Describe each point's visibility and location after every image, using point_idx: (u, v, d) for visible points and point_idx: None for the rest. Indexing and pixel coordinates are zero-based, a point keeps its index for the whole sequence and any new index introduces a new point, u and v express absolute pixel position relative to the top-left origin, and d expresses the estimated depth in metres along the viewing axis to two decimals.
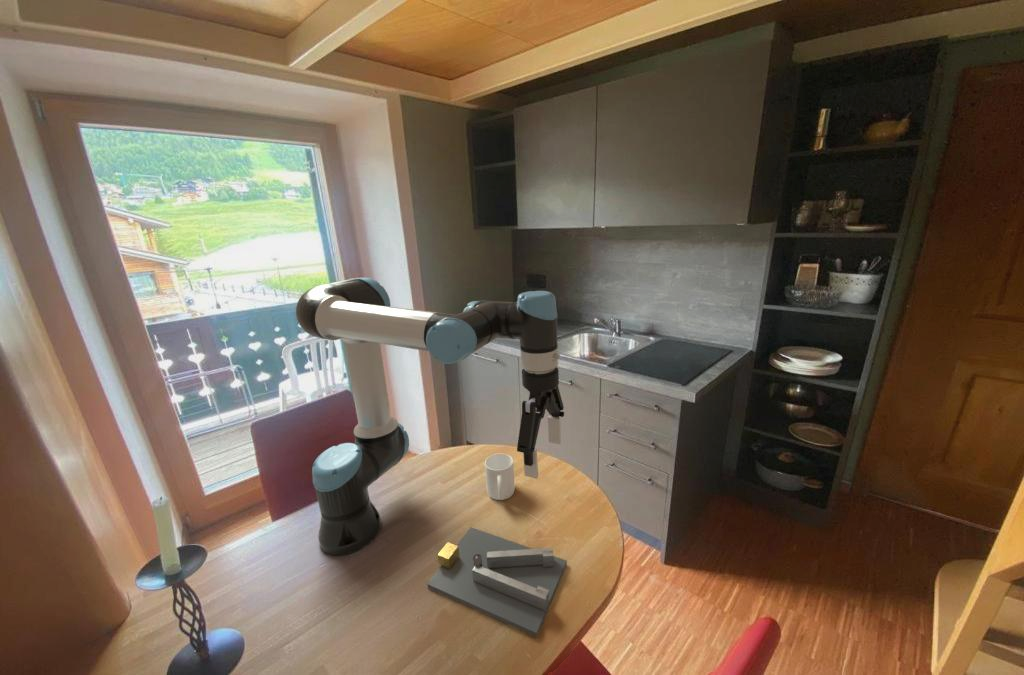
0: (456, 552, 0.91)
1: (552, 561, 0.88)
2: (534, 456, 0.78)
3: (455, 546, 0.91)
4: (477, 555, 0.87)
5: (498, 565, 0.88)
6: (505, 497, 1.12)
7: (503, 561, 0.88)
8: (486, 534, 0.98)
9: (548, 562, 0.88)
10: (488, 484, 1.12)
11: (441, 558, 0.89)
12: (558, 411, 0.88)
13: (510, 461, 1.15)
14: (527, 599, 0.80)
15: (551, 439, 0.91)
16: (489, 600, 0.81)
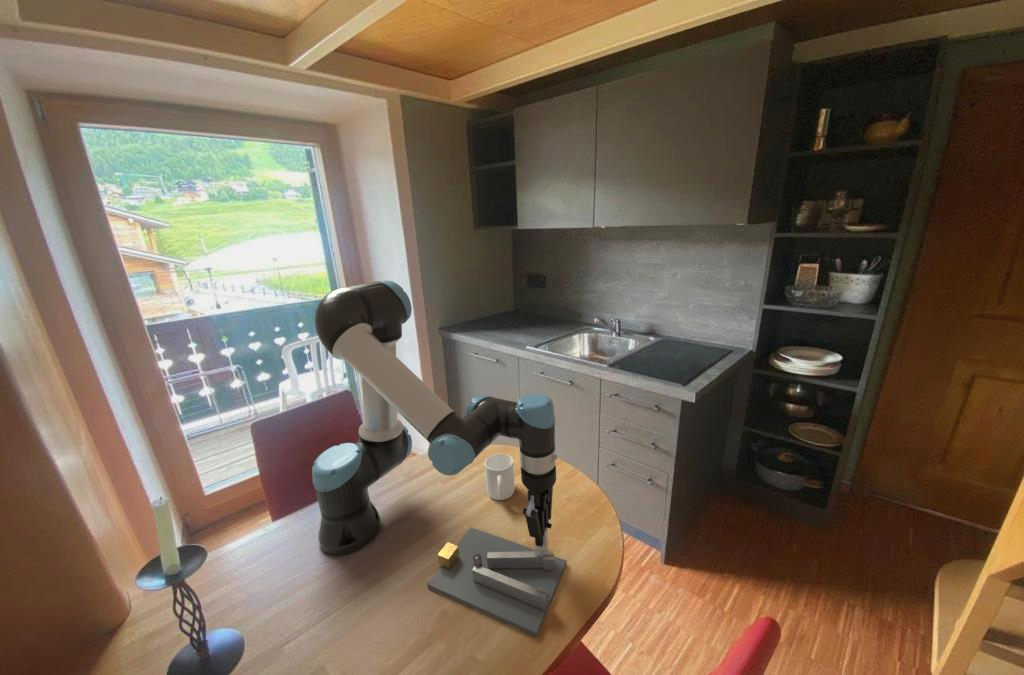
0: (456, 552, 0.91)
1: (552, 565, 0.87)
2: (544, 538, 0.88)
3: (455, 546, 0.91)
4: (477, 555, 0.87)
5: (498, 566, 0.88)
6: (505, 497, 1.12)
7: (503, 562, 0.88)
8: (486, 534, 0.98)
9: (548, 566, 0.87)
10: (488, 484, 1.12)
11: (441, 558, 0.89)
12: (547, 519, 0.88)
13: (510, 461, 1.15)
14: (527, 599, 0.80)
15: None
16: (489, 600, 0.81)
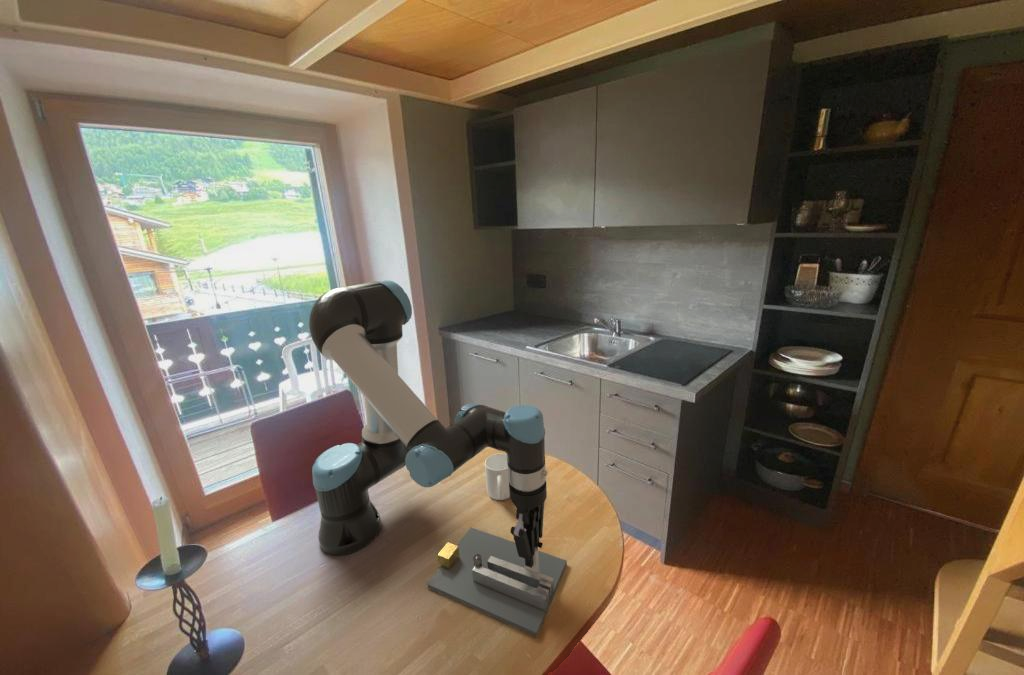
0: (456, 552, 0.91)
1: None
2: (534, 558, 0.82)
3: (455, 546, 0.91)
4: (477, 555, 0.87)
5: None
6: (505, 497, 1.12)
7: (502, 571, 0.85)
8: (486, 534, 0.98)
9: None
10: (488, 484, 1.12)
11: (441, 558, 0.89)
12: (537, 538, 0.83)
13: None
14: (527, 599, 0.80)
15: None
16: (489, 600, 0.81)
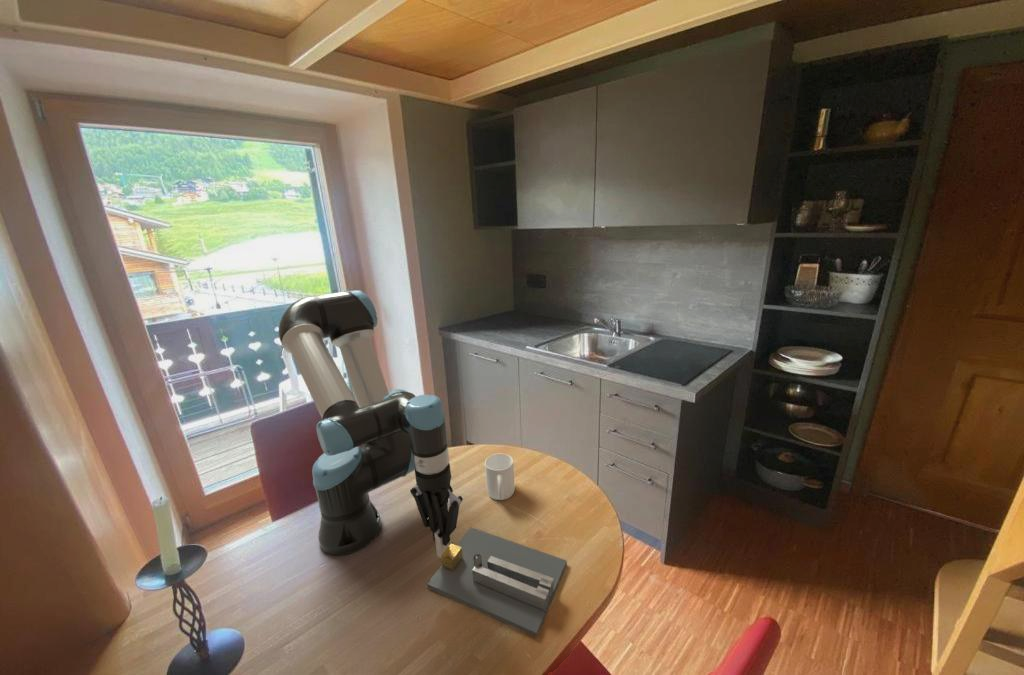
0: (459, 553, 0.90)
1: None
2: None
3: (458, 547, 0.91)
4: (477, 555, 0.87)
5: None
6: (505, 497, 1.12)
7: (502, 571, 0.85)
8: (486, 534, 0.98)
9: None
10: (488, 484, 1.12)
11: (444, 559, 0.89)
12: (440, 527, 0.87)
13: (510, 461, 1.15)
14: (527, 599, 0.80)
15: None
16: (489, 600, 0.81)
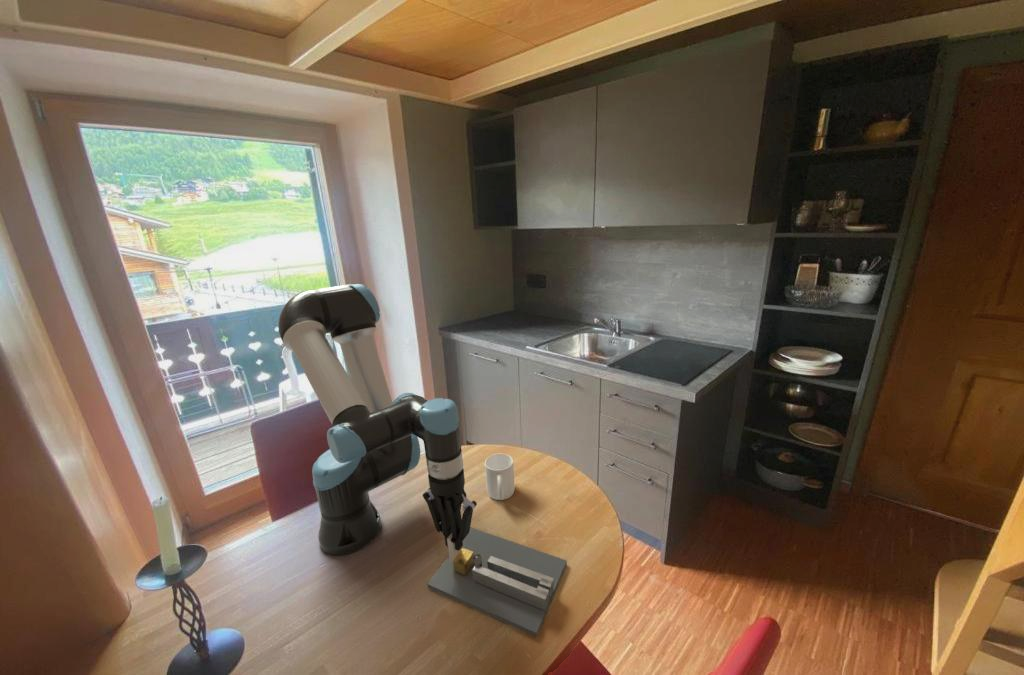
0: (471, 558, 0.89)
1: None
2: None
3: (470, 552, 0.89)
4: (477, 555, 0.87)
5: None
6: (505, 497, 1.12)
7: (502, 571, 0.85)
8: (486, 534, 0.98)
9: None
10: (488, 484, 1.12)
11: (456, 564, 0.87)
12: (453, 532, 0.86)
13: (510, 461, 1.15)
14: (527, 599, 0.80)
15: None
16: (489, 600, 0.81)
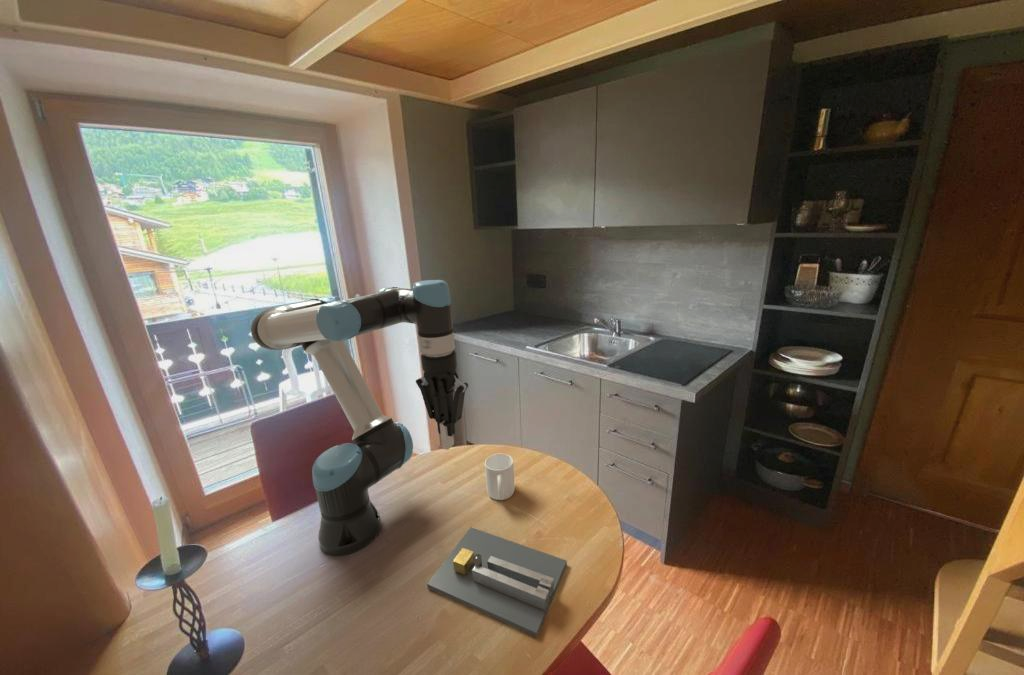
0: (471, 558, 0.89)
1: None
2: None
3: (470, 552, 0.89)
4: (477, 555, 0.87)
5: None
6: (505, 497, 1.12)
7: (502, 571, 0.85)
8: (486, 534, 0.98)
9: None
10: (488, 484, 1.12)
11: (456, 564, 0.87)
12: (446, 416, 0.88)
13: (510, 461, 1.15)
14: (527, 599, 0.80)
15: None
16: (489, 600, 0.81)
